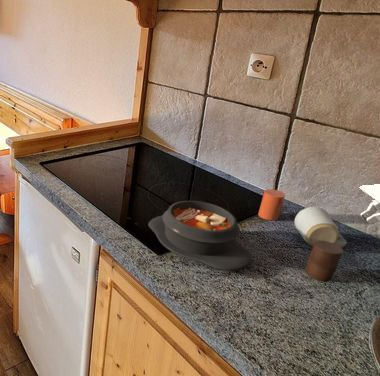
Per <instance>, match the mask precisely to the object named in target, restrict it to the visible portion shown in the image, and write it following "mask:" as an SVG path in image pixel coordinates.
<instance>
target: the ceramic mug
mask: <svg viewBox="0 0 380 376" xmlns="http://www.w3.org/2000/svg"><path fill="white" fill-rule="evenodd" d="M294 226H295V228H296V229H297V231H298V233H299V234H300V235H301V238H302V239H303V240H304V241H305V243H306V244H308V245H309V246H310V247H313V246H314V244H315V242H316V241H328V242H331V243H334V244H336V245H338V246H340V247H341V248H342V249H343V248H344V247H345V246H346V245H347V240H346V239H345V238H344V237H343V236H342V235H341V234H340V232H339V227H338V226H337V225H336V223H335V222H334V220H333V219H332V217H331V216H330V214H329V213H328V211H326V210H325V209H324V208H322V207H320V206H319V207H318V206H309V207H306V208H303V209H301V210H300V211H299V212H298V213H297V214H296V215H295V218H294Z"/></svg>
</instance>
